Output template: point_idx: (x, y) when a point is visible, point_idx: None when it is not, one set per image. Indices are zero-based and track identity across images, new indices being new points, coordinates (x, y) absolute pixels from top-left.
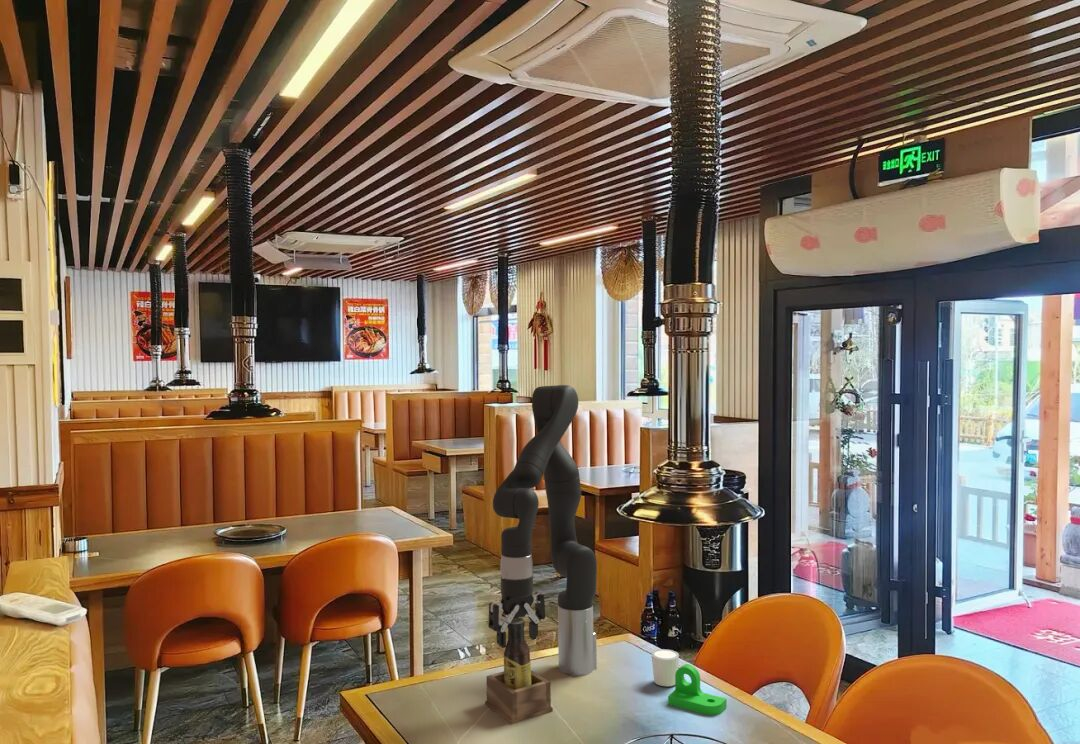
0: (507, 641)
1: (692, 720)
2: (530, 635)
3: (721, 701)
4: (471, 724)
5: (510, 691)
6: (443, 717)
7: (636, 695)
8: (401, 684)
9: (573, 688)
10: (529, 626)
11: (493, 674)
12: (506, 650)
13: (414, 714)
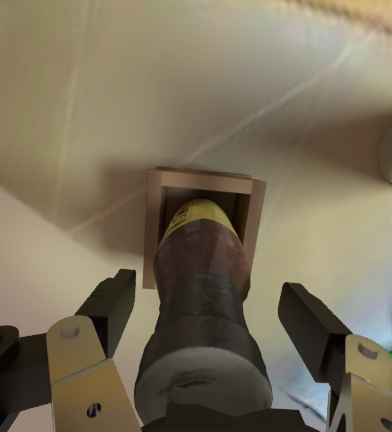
0: (163, 281)
1: None
2: (287, 296)
3: None
4: (97, 212)
5: (145, 278)
6: (65, 153)
7: (378, 308)
8: None
9: (331, 221)
10: (311, 320)
11: (169, 173)
12: (156, 271)
13: (18, 99)
